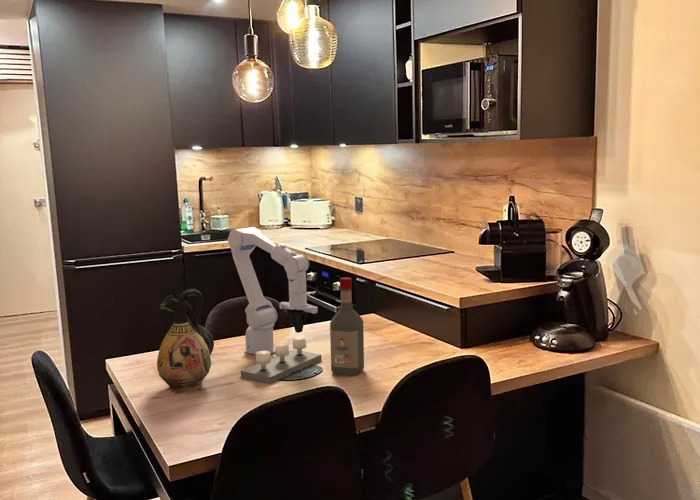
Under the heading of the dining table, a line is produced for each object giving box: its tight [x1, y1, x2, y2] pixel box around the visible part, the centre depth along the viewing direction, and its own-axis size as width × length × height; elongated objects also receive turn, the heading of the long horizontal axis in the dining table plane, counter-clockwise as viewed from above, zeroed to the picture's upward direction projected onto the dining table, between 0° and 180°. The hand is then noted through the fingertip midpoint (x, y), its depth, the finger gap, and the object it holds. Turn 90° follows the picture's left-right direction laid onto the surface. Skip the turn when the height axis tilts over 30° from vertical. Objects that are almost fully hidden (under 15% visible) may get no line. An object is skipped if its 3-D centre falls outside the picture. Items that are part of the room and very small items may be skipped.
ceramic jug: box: [156, 288, 212, 394], centre depth 192 cm, size 17×15×30 cm
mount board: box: [240, 348, 322, 385], centre depth 210 cm, size 12×26×2 cm, turn 146°
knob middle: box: [274, 343, 290, 361], centre depth 209 cm, size 4×4×5 cm
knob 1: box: [255, 351, 271, 369], centre depth 202 cm, size 4×4×5 cm
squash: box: [198, 323, 215, 356], centre depth 218 cm, size 14×15×15 cm
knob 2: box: [292, 336, 307, 354], centre depth 217 cm, size 4×4×5 cm
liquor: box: [329, 276, 365, 378], centre depth 203 cm, size 9×9×30 cm
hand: (298, 331), depth 216 cm, fingers closed
